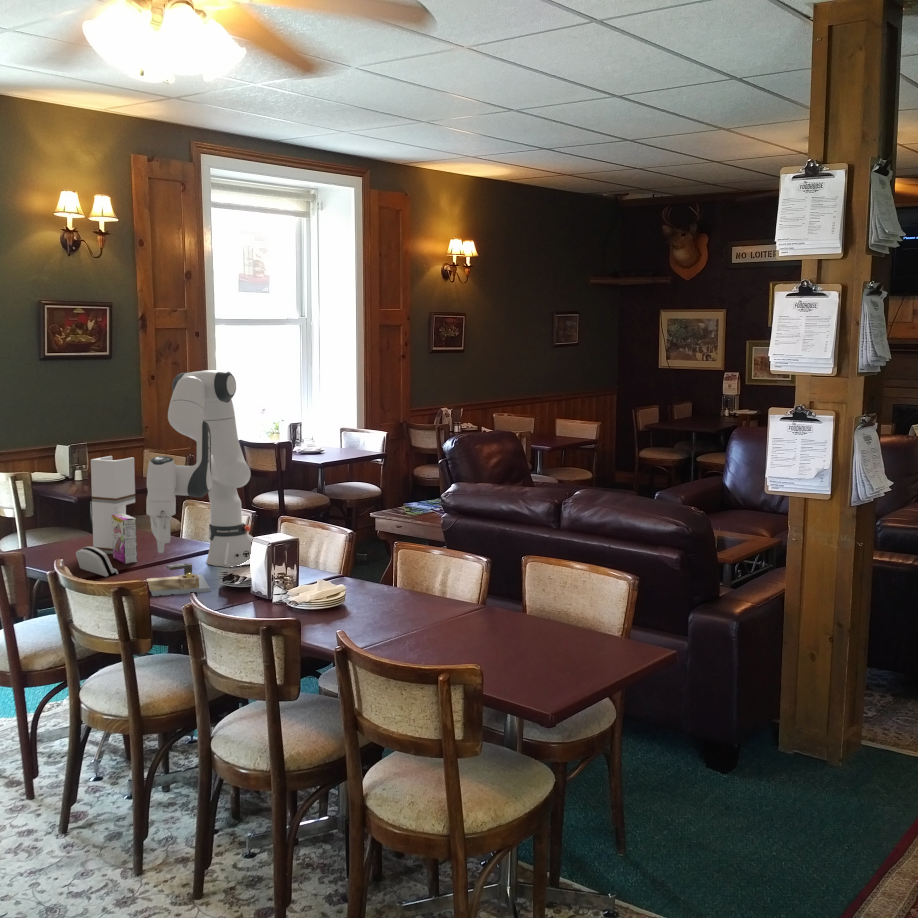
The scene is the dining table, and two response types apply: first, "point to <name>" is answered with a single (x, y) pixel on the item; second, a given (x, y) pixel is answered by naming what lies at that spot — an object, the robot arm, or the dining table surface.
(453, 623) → the dining table surface
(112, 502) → the banded white column
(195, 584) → the link
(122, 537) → the candy bar box
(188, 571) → the pintle keeper
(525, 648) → the dining table surface
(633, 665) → the dining table surface
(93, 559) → the white black-striped rounded block
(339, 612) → the dining table surface
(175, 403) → the robot arm
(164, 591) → the board
